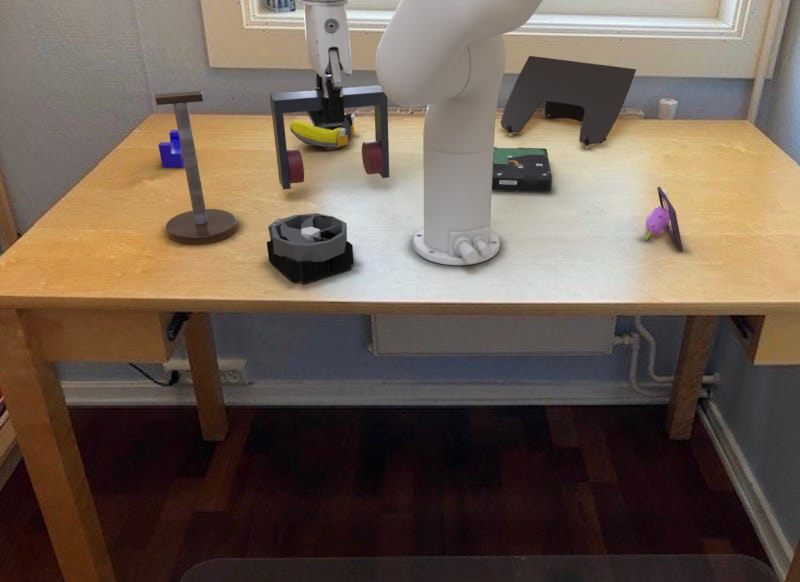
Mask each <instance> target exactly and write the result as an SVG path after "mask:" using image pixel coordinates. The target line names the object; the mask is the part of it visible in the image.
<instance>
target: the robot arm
mask: <svg viewBox="0 0 800 582" xmlns="http://www.w3.org/2000/svg"><path fill="white" fill-rule="evenodd" d="M543 1H544V0H400V2H399V4H398V6H397V7H396V9H395V11H394V13H393V15H392V17H391V19H390V20H389V22H388V24H387V26H386V28H385V30H384V32H383V34H382V36H381V38H380V41H379V44H378V46H377V51H376V56H375V72H376V76H377V77H376V78H377V82H378V84H379V85H380V87H381V89H382V90H383V92H384V94H385V95H386V96H387V99H388V100H390V101H391V102H393V103H394V104H396V105H398V106H400V107H403V108H404V107H405V108H421V107H425V106H427V107H426V111H425V115H424V120H423V121H424V122H423V131H422V132H423V134H422V135H423V136H422V137H423V138H422V139H423V145H422V146H423V152H422V153H423V154H422V155H423V156H422V157H423V227H421V228H420V229H419V230H418V231H416V232H415V234H414V235H413V239H412V247H413V250H414V251H415V252H416V253H417V255H418V256H419V257H421V258H423V259H425V260H428V261H429V262H433V263H436V264H441V265H445V266H447V265H448V266H471V265H475V264H480V263H483V262H487V261H488V260H490V259H492V258H493V257H494V256H496V255H497V254H498V253H499V251H500V248H501V239H500V236H499V235H498V233H497V232H496V231H494V230H493V229H491V213H492V194H493V193H492V192H493V190H492V174H493V152H494V147H495V136H496V135H495V134H496V117H497V108H498V100H499V96H500V91H501V87H502V83H503V78H504V73H505V68H506V61H507V49H506V43H505V39H504V36H503V35H504V34H507V33H510V32H511V33H512V32H514V31H516V30H517V29H520V28H521V27H522V26H524V25H525V24H526V23H527V22H529V20H530V19H531V18H532V16H533V15H534V14H535V12H536V11H537V10H538V8H539V7H540V5H541V4H542V3H543ZM296 3H297V4H299V5H303V16H304V32H305V33H304V34H305V45H306V46H305V47H306V53H307V60H308V64H309V65H310V66H311V67H312V69H313V70H314V83H315V90H323V93H324V97H322V108H323V110H317V113H318V114H319V115H323V121H324V123H325V124H332V123H343V122H344V121H345V108H344V98H343V88H344V87H343V77H342V72H343V73H344V74H345V76H346V77H350V76H352V74H353V62H352V51H351V41H350V40H351V39H350V29H349V22H348V14H347V9H346V4H349V3H350V0H296Z"/></svg>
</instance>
